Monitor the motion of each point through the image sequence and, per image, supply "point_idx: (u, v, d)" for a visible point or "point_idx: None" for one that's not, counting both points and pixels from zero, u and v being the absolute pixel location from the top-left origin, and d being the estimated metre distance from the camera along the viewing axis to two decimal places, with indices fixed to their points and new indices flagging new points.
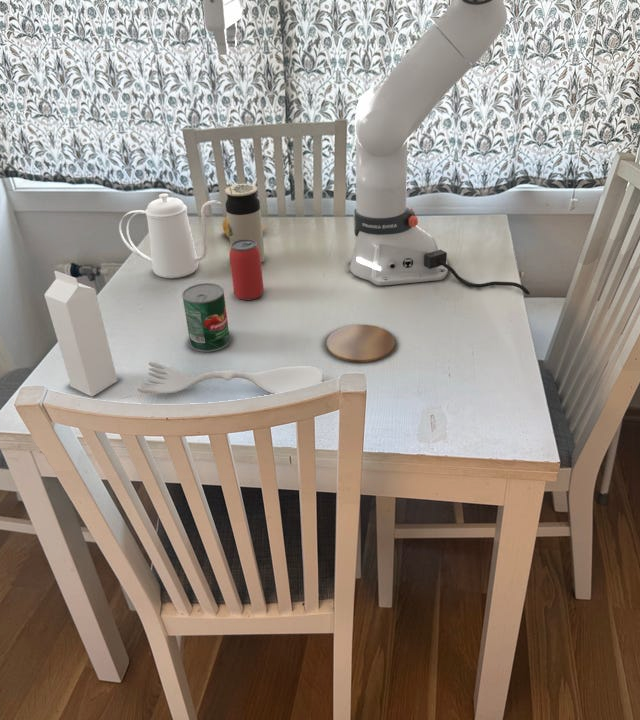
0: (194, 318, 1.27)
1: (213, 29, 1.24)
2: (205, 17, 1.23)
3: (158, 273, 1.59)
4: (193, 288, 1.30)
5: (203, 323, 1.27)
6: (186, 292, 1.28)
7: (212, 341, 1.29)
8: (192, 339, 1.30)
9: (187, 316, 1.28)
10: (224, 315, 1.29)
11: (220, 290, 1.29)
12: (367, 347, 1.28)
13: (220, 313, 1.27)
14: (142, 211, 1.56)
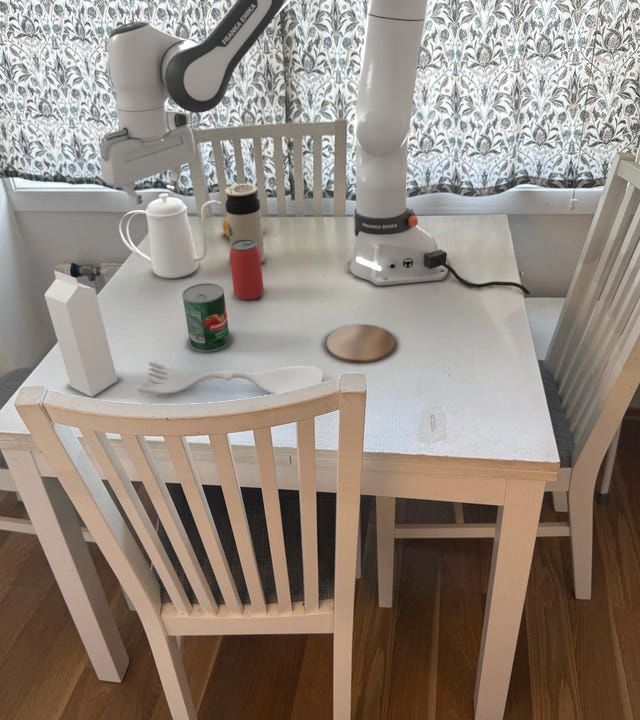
0: (194, 318, 1.27)
1: (109, 185, 1.21)
2: (102, 173, 1.20)
3: (158, 273, 1.59)
4: (193, 288, 1.30)
5: (203, 323, 1.27)
6: (186, 292, 1.28)
7: (212, 341, 1.29)
8: (192, 339, 1.30)
9: (187, 316, 1.28)
10: (224, 315, 1.29)
11: (220, 290, 1.29)
12: (367, 347, 1.28)
13: (220, 313, 1.27)
14: (142, 211, 1.56)
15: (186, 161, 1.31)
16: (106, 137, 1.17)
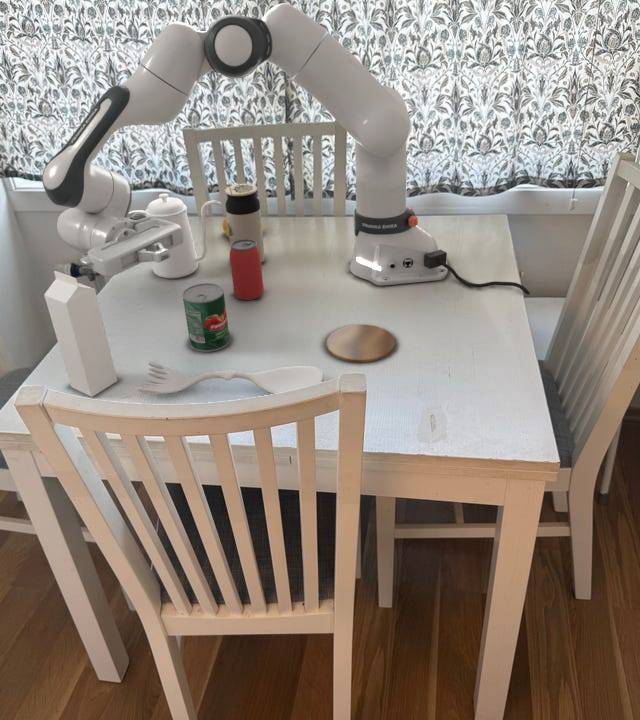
0: (194, 318, 1.27)
1: (108, 270, 1.26)
2: (101, 274, 1.28)
3: (158, 273, 1.59)
4: (193, 288, 1.30)
5: (203, 323, 1.27)
6: (186, 292, 1.28)
7: (212, 340, 1.29)
8: (192, 339, 1.30)
9: (187, 316, 1.28)
10: (224, 315, 1.29)
11: (220, 290, 1.29)
12: (367, 347, 1.28)
13: (220, 313, 1.27)
14: (142, 211, 1.56)
15: (172, 229, 1.36)
16: (83, 256, 1.31)
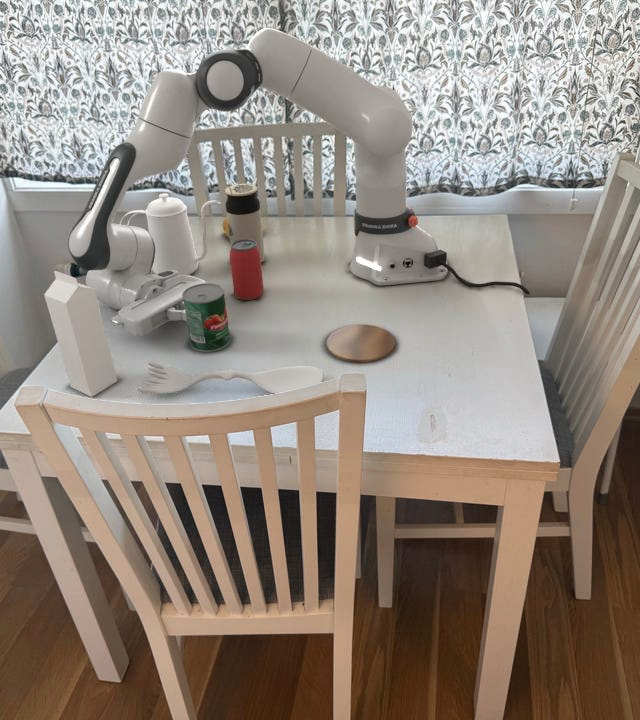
0: (194, 318, 1.27)
1: (139, 330, 1.30)
2: (132, 333, 1.31)
3: None
4: (193, 288, 1.30)
5: (203, 323, 1.27)
6: (186, 292, 1.28)
7: (213, 341, 1.29)
8: (192, 339, 1.30)
9: (187, 316, 1.28)
10: (224, 315, 1.29)
11: (220, 290, 1.28)
12: (367, 347, 1.28)
13: (220, 313, 1.27)
14: (142, 211, 1.56)
15: None
16: (114, 315, 1.34)
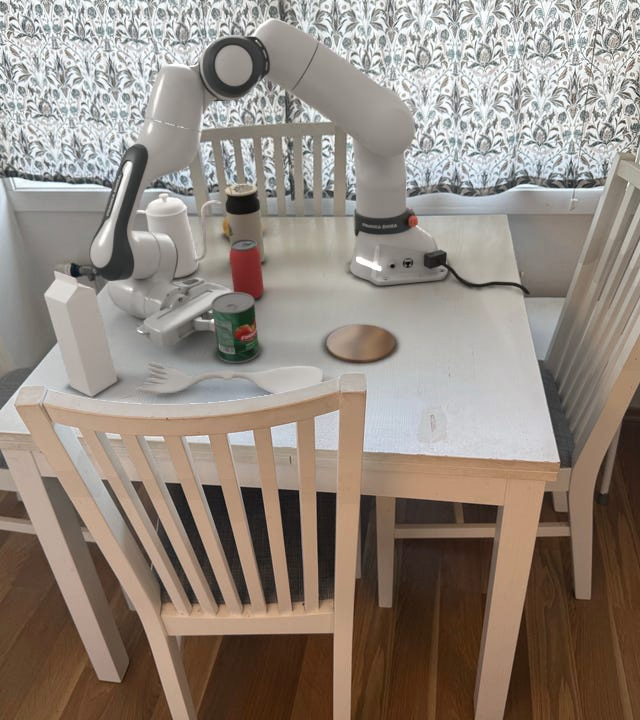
0: (224, 328, 1.23)
1: (165, 341, 1.26)
2: (158, 344, 1.27)
3: None
4: (222, 297, 1.26)
5: (234, 333, 1.23)
6: (215, 302, 1.24)
7: (243, 351, 1.25)
8: (221, 350, 1.26)
9: (216, 327, 1.24)
10: (254, 325, 1.25)
11: (250, 299, 1.25)
12: (367, 347, 1.28)
13: (250, 323, 1.24)
14: (142, 211, 1.56)
15: None
16: (138, 325, 1.30)
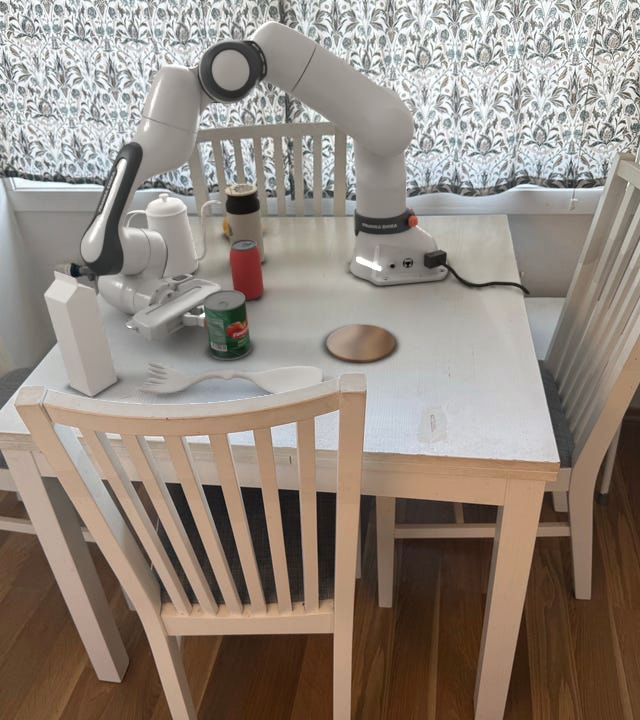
0: (216, 326, 1.24)
1: (154, 336, 1.27)
2: (147, 339, 1.28)
3: None
4: (213, 295, 1.27)
5: (225, 330, 1.24)
6: (207, 300, 1.25)
7: (235, 348, 1.26)
8: (213, 347, 1.27)
9: (208, 324, 1.25)
10: (246, 322, 1.26)
11: (241, 297, 1.26)
12: (367, 347, 1.28)
13: (242, 320, 1.25)
14: (142, 211, 1.56)
15: (214, 290, 1.37)
16: (128, 320, 1.31)
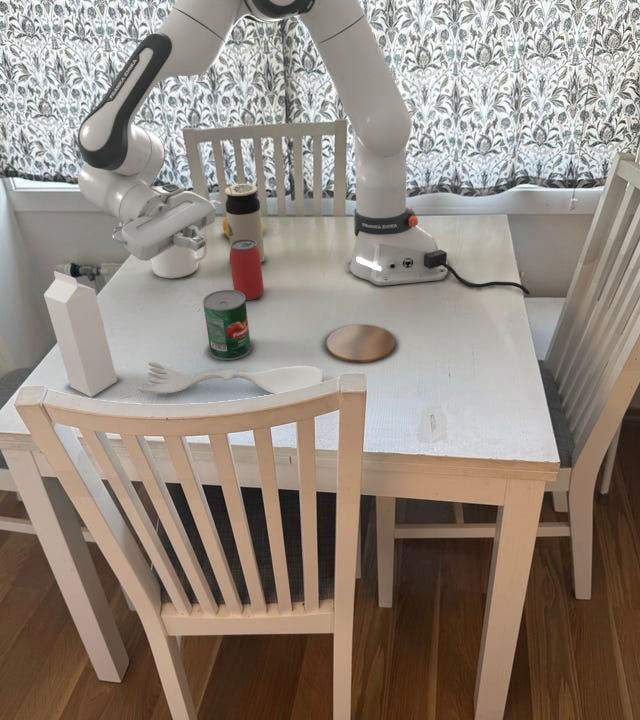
0: (216, 326, 1.24)
1: (144, 255, 1.22)
2: (135, 256, 1.23)
3: (158, 273, 1.59)
4: (213, 295, 1.27)
5: (225, 330, 1.24)
6: (207, 300, 1.25)
7: (235, 348, 1.26)
8: (213, 347, 1.27)
9: (208, 324, 1.25)
10: (246, 322, 1.26)
11: (241, 297, 1.26)
12: (367, 347, 1.28)
13: (242, 320, 1.25)
14: None
15: (207, 210, 1.31)
16: (114, 230, 1.24)
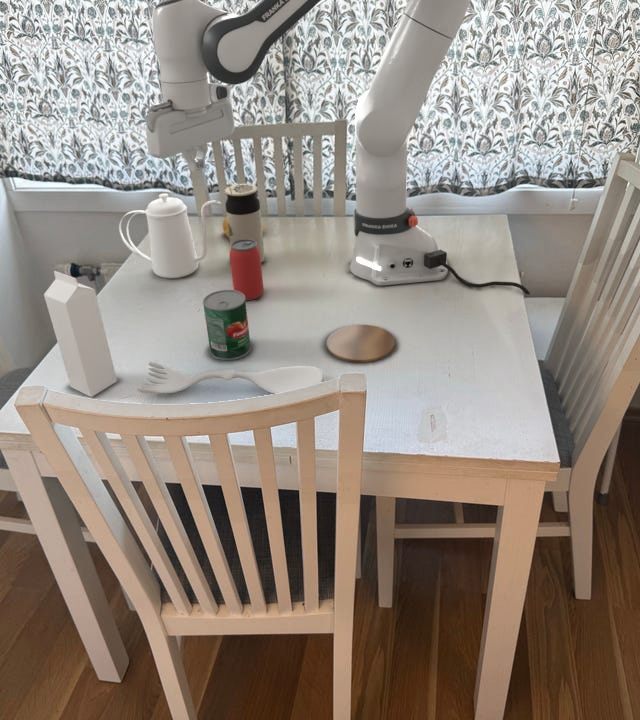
0: (216, 326, 1.24)
1: (155, 156, 1.24)
2: (147, 144, 1.23)
3: (158, 273, 1.59)
4: (213, 295, 1.27)
5: (225, 330, 1.24)
6: (207, 300, 1.25)
7: (235, 348, 1.26)
8: (213, 347, 1.27)
9: (208, 324, 1.25)
10: (246, 322, 1.26)
11: (241, 297, 1.26)
12: (367, 347, 1.28)
13: (242, 320, 1.25)
14: (142, 211, 1.56)
15: (226, 134, 1.34)
16: (152, 109, 1.19)
